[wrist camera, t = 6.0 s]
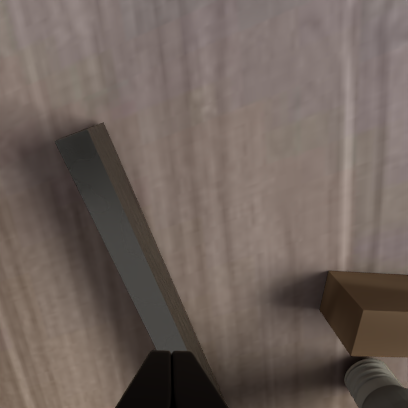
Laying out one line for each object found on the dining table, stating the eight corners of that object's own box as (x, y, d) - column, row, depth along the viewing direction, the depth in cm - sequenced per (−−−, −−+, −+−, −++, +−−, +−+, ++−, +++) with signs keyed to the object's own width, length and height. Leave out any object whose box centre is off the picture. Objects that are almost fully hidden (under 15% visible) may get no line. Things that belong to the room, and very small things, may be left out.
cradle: (389, 449, 23) (426, 510, 19) (286, 451, 22) (307, 514, 19) (449, 277, 19) (508, 315, 16) (328, 271, 18) (363, 310, 15)
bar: (273, 491, 23) (289, 553, 20) (239, 503, 23) (249, 566, 20) (116, 117, 15) (102, 123, 12) (64, 136, 15) (36, 148, 12)
